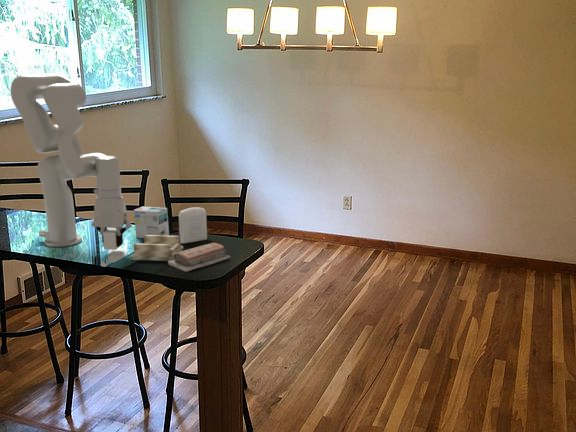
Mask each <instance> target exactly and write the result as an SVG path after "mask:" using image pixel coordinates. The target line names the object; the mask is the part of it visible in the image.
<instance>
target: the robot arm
mask: <svg viewBox="0 0 576 432" xmlns="http://www.w3.org/2000/svg"><path fill="white" fill-rule="evenodd" d="M10 96H11V100H12V102H13V104H14V106H15V108H16V110H17V112H18V113H19V114H20V115H19V116H20V117H21V119H22V121H23V123H24V126H25V129H26V133H27V134H28V137H29V140H30V142H31V145H32V147H33V149H34V150H35V151H36V152H37V153H38V154H50V153H56V152H58V153H57V154H54V155H48V156H45V157H44V158H42V159H40V160H39V162H38V163H37V175H38V177H39V181H40V184H41V189H42V192H43V193H42V194H43V202H44V208H45V209H44V210H45V215H46V224H47V225H46V226H47V230H42V229H41V230H39V232H38V233H39V234H38V236H39V238H45V240H44V245H45V246H47V247H52V248H61V247H62V248H63V247H70V246H73V245H76V244H79V243H81V242H82V240H83V238H82V236H81V235H79V234H77V233H78V232H77V226H76V225H77V224H76V216H75V207H74V198H73V197H74V196H73V192H72V190H71V188H70V187H69V185H68V183H67V181H70V180H71V181H73V180H76V179H77V180H78V179H79V180H81V179H85V178H89V177H95V176H96V188H95V189H93V193H94V194H96V197H95V199H94V206H93V208H94V210H93V221H92V222H91V226H92V227H93V228H95V230H97V231H98V232H99V233H100V235H101V242H102V243H103V246H104V240H103V232H104V231H106V230H107V229H108V228H116V231H117V236H116V242H117V247H119V248H120V247H121V246H122V245H123V244H124V237H123V235H124V233H125V232H126V231H127V230H129V229H131V228H132V227H133V225H132V223H131V222H130V221H129V219H128V212H127V208H126V207H127V206H126V203H125V198H124V196H122V187H121V186H122V185H121V172H120V171H121V170H120V160H119V158H118V157H117V156H114V155H107V154H104V153H101V152H91V153H85V154H84V151H83V149H82V146H81V143H80V140H79V138H78V136H77V133H79V132H80V131H81V130H82V129H84V126H85V121H84V118H83V117H82V114H81V113H80V111H79V109H78V108H81V107H83V106H84V105H86V102H87V93H86V91H85V89H84V87H83V86H81V85H80V84H79V83H77V81H74V80H71V79H70V78H67V77H66V76H63V75H60V74H58V73H53V72H51V73H28V74H22V75H21V74H20V75H18V76H17V77H15V78H13V80H12V82H11V84H10ZM38 99H39V100H40V99H41V100H44V102H45V104H46V106H47V108H48V110H49V112H50V114H51V116H52V118H53V120H54V123H56V124H53V123H52V121H51V119H50V115H49V114H48V112H47V110H46V109H45V108H44V106H42V105H41V103H39V102H38V101H37V100H38ZM124 225H125V226H124ZM122 243H123V244H122Z"/></svg>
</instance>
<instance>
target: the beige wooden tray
mask: <svg viewBox="0 0 576 432" xmlns="http://www.w3.org/2000/svg"><path fill="white" fill-rule="evenodd" d="M143 239H144V243H136V242H134V243H133V254H131V256H130V260H131V261H133V260H134V261H159V262H160V261H164V262H168V261H170V260H174V259H175V256H174V255H175V253H177V252H180V251H184V245H182V243H181V242H180V235H170V234H169V235H145V236H144V238H143Z"/></svg>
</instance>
